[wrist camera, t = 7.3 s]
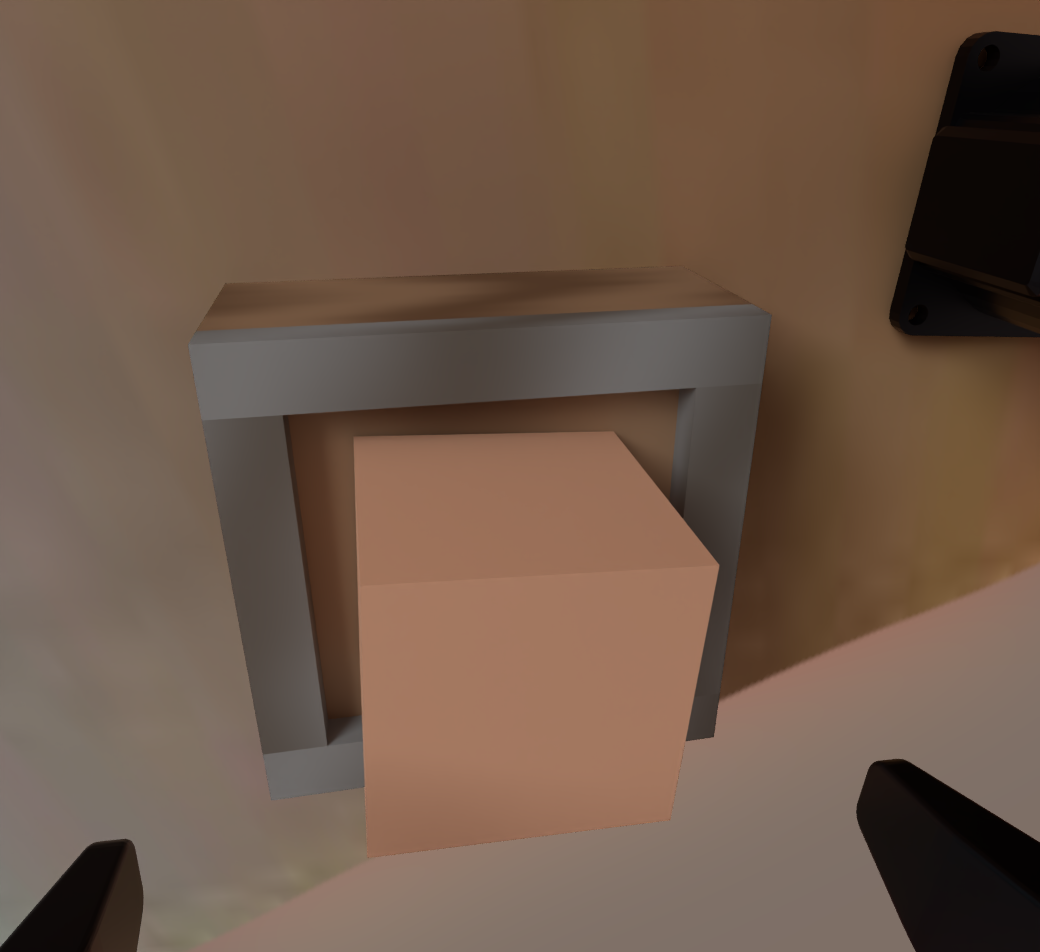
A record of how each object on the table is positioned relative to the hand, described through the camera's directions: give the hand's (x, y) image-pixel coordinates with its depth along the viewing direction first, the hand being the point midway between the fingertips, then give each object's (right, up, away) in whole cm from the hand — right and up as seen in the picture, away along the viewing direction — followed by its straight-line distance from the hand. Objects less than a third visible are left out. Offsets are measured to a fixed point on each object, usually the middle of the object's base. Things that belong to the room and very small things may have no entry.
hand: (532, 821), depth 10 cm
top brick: (-1, +3, +7) cm, 7 cm away
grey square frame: (-1, +4, +10) cm, 11 cm away
